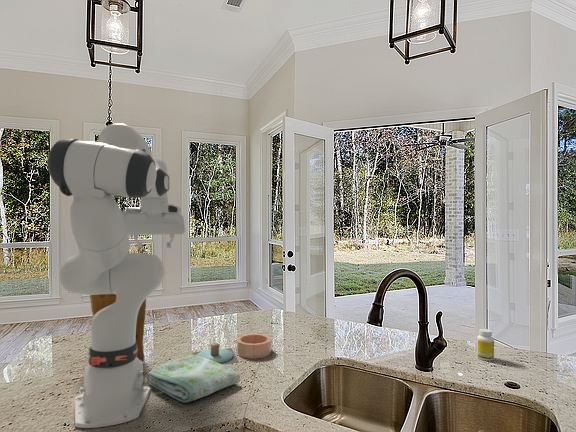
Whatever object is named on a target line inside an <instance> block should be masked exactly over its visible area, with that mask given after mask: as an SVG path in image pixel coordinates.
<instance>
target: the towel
mask: <svg viewBox="0 0 576 432" xmlns="http://www.w3.org/2000/svg"><path fill="white" fill-rule="evenodd" d="M147 374H148V381H149V382H148V383H149V385H150V386H151V387H153V388H155V389H156V390H158V391H160V392H162V393H165V394H166V395H168V396H169V397H171V398H173V399H175V400H177V401H178V402H181V403H189V402H193V401H196V400H198V399H201V398H203V397H204V398H205V397H206V396H209V395H211V394H213V393H216V392H217V391H221V390H222V389H225V388H227V387H230V386H232V385H233V386H234V385H235V384H237V383H238V382H239V381H240V379H241V375H240V374H239V372H238V371H237V370H234V369H233V368H232V367H229V366H227V365H226V364H219V363H217V362H215V361H212V360H210V359H206V358H203V357H201V356H198V355H193V354H189V355H186V356H183V357H180V358H177V359H174V360H170V361H168V362H166V363H164V364H163V363H162V364H160V365H159V366H156V367H154V368H152V369H151V370H150V371H149V372H148V373H147Z"/></svg>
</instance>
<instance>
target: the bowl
mask: <svg viewBox="0 0 576 432" xmlns="http://www.w3.org/2000/svg"><path fill="white" fill-rule="evenodd" d="M235 350H236V354H237V356H239V357H242V358H244V359H260V358H265V357H268V356H270V354H271V352H272V338H271V337H270V336H269V335H266V334H262V333H247V334H244V335H240V336H238V337H237V339H236V349H235Z"/></svg>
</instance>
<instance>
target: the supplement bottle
mask: <svg viewBox="0 0 576 432" xmlns="http://www.w3.org/2000/svg"><path fill="white" fill-rule="evenodd" d="M478 331H479V332H478V333H479V335H477V337H476V357H477V358H478V359H479V360H481V361H489V362H490V361H491V362H492V361H493V360H494V358H495V339H494V337H493V330H491V329H487V328H480V329H479V330H478Z"/></svg>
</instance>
